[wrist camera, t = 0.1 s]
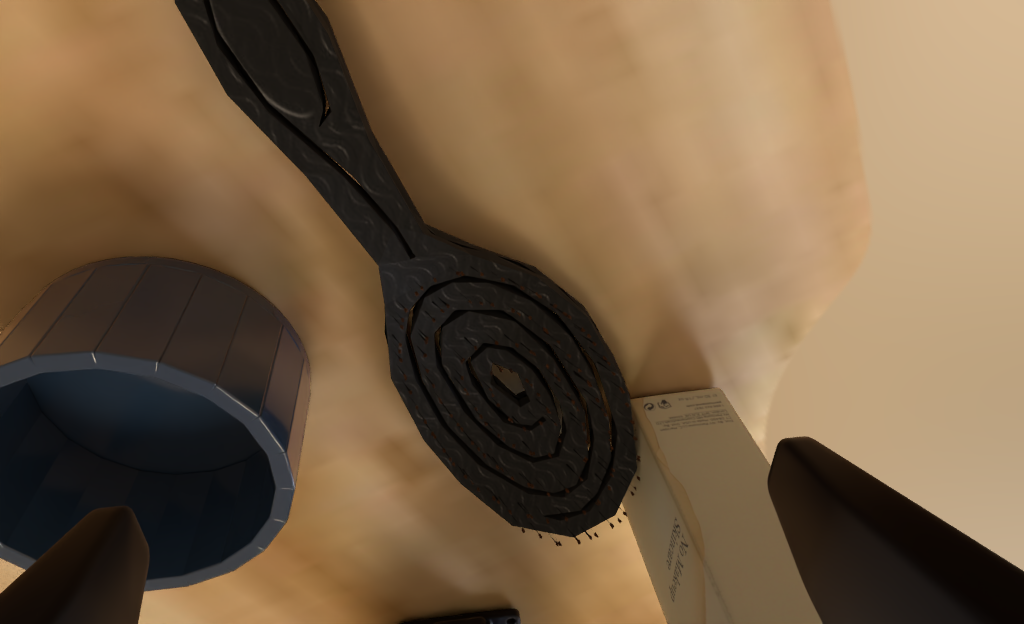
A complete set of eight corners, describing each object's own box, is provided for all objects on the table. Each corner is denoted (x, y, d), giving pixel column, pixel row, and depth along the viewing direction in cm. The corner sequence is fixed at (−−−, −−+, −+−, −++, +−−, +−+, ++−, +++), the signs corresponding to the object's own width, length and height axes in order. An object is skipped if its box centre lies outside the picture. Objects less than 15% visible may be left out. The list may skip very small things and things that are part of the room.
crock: (328, 459, 28) (315, 572, 24) (72, 484, 27) (7, 608, 22) (286, 246, 23) (259, 338, 18) (-36, 265, 21) (-152, 369, 17)
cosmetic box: (625, 395, 29) (750, 676, 19) (725, 383, 29) (899, 651, 19) (617, 496, 32) (718, 780, 22) (706, 484, 33) (845, 757, 22)
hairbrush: (312, -192, 14) (689, 506, 27) (331, -172, 18) (661, 443, 30) (11, 6, 16) (506, 586, 28) (80, -9, 19) (497, 518, 31)
